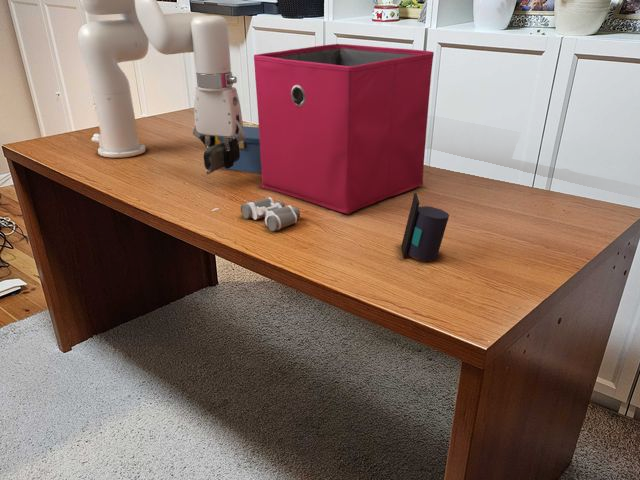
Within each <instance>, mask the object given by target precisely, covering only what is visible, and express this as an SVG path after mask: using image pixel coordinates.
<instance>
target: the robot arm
mask: <svg viewBox="0 0 640 480" xmlns="http://www.w3.org/2000/svg"><path fill="white" fill-rule="evenodd" d="M79 3H80V6H81V7H82V9H83V10H84V12H86V13H87V14H90V15H95V16H110V15H119V17H120V19H113V20H112V19H107V20H95V21H90V22H86V23H85V24H83V25H82V26H81V27H80V28H79V30H78V33H77V42H78V45H79V46H78V47H79V49H80V52H81V55H82V57H83V60H84V63H85V67H86V69H87V73H88V77H89V81H90V86H91V91H92V96H93V101H94V102H93V103H94V106H95V112H96V113H95V114H96V117H97V122H98V128H99V133H94V134H93V135H92V137H91V142H92V143H97V144H99V147H98V148H97V154H98V155H100V156H101V157H104V158H113V159H114V158H116V159H119V158H130V157H136V156H139V155H142V154H143V153H145V152H146V150H147V148H146V145H145V144H143V143H140V140H139V135H138V134H139V133H138V129H137V123H136V116H135V110H134V104H133V98H132V92H131V86H130V82H129V79H128V77H127V75H126V74H125V72H124V71H123V70H122V68H121V67H120V66H119V64H120V63H123V62H124V63H125V62H126V63H127V62H132V61H133V62H135V61H140V60H142V59H144V58H145V57H146V56H147V54H148V51H149V45H151V46H152V47H153V49H154V50H156V51H157V52H158V53H159V54H163V55H176V54H177V55H178V54H185V53H189V54H190V53H193V57H194V67H195V76H196V77H195V78H196V85H197V86H196V87H195V89H194V99H193V110H194V111H193V112H194V127H193V131H192V135H193V136H194V137H196V138H197V139H198V140H200V141H201V143H202V144H203V145H204V147H205V149H206V150H207V149H208V148H209V147H211V146H214V145H215V144H216V136H219V137H223V139H224V145H225V151H224V152H223V154H224V166H225V168H226V169H225V170H229V169H228V168H230V167H232V166H233V164H234V151H233V149H234V148H235V146H236V145H237V144H238V143H239V142H241V141H243V140H244V139H246V135H245V133H244V131H243V123H244V122H243V114H242V108H241V102H240V98H239V93H238V90H237V88H236V86H235V87H234V86H233V85H234V84H237V82H238V77H237V76H234V75H233V72H232V66H231V65H232V64H231V50H230V37H229V25H228V21H227V20H226V18H225V17H223V16H221V15H206V14H204V13H202V12H201V13H200V12H177V13H176V12H175V13H164V12H163V11H162V9H161V7H160V4H159V2H158V1H157V0H79ZM149 43H150V44H149ZM235 134H237V137H236V138H234V135H235Z"/></svg>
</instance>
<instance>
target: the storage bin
mask: <svg viewBox="0 0 640 480" xmlns="http://www.w3.org/2000/svg"><path fill="white" fill-rule="evenodd" d="M434 56H435V53H434V51H431V50H430V51H429V50H422V49H421V50H420V49H413V48H411V49H410V48H397V47H396V48H395V47H386V46H385V47H384V46H383V47H382V46H371V45H361V44H360V45H358V44H348V43H331V44H324V45H323V44H322V45H315V46H307V47H300V48H292V49H286V50H279V51H272V52H263V53H257V54H253V62H254V63H253V64H254V66H253V67H254V80H255V92H256V94H255V95H256V106H257V119H258V121H257V122H258V125H259V137H260V153H261V169H262V173H261V188H262V189H264V190H265V189H266V190H271V191H275V192H278V193H281V194H284V195H287V196H290V197H293V198H297V199H300V200H302V201H306V202H309V203H313V204H315V205H319V206H321V207H323V208H326V209H330V210H333V211H336V212H339V213H342V214H345V215H349V214H351V213H354V212H356V211H358V210H360V209H362V208H366V207H368V206H371V205H373V204H376V203H377V202H381V201H383V200H385V199H388V198H391V197H393V196H397V195H400V194H402V193H405V192H408V191H410V190H412V189H415V188H418V187H421V186H423V185H424V166H425V155H426V154H425V153H426V152H425V151H426V141H427V130H428V129H427V128H428V117H429V105H430V94H431V82H432V73H433V62H434Z"/></svg>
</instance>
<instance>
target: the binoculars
mask: <svg viewBox="0 0 640 480" xmlns="http://www.w3.org/2000/svg"><path fill="white" fill-rule="evenodd" d="M240 213H241V215H242V217H243V218H244V219H246V220H247V219H251V218H252V219H253V220H255V221H256V220H259V219H263V218H264V223H265V225H266V226H267V227H268V229H269V230H270V231H271V232H276V231H279V230H282V229H284V228H286V227H289V226H291V225H293V224H296V223H298V219H300V217H301V211H300V210H299V208H298V207H297V206H291V205H290V204H289V205H285V202H284V201H282V200H278V201H277V202H274V199H273V198H272V197H270V196H269V197H265V198H262V199H257V200H254V201H250V202H245V203H242V204H241V205H240Z"/></svg>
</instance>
